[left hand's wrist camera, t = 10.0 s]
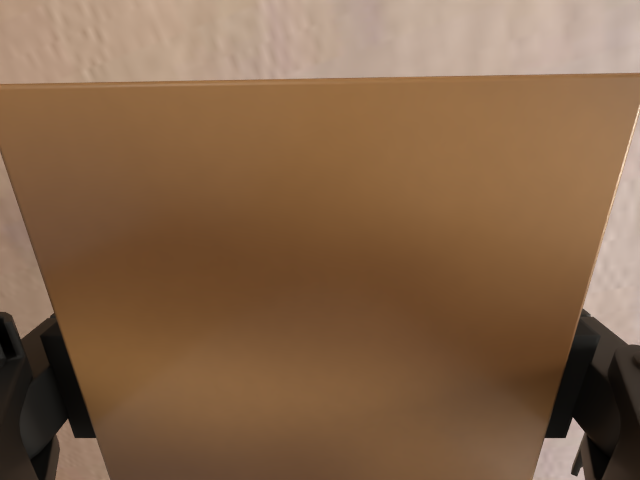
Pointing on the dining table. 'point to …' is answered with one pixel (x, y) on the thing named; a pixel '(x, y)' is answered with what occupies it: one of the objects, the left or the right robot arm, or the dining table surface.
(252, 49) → the dining table surface
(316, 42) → the dining table surface
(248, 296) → the wide beam
